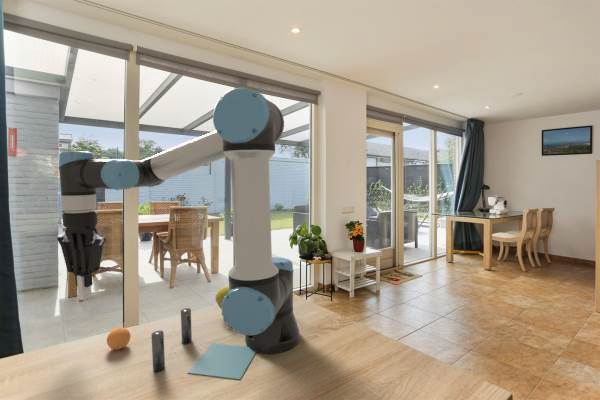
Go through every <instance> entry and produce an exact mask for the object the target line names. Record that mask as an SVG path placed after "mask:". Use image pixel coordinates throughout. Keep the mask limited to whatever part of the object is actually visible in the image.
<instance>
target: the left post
mask: <svg viewBox="0 0 600 400" xmlns="http://www.w3.org/2000/svg"><path fill="white" fill-rule="evenodd" d="M150 335H151V351H152V354H151V355H152V371H153V373H155V374H156V373H161V372H163V371H164V370H166V362H165V359H166V358H165V336H164V335H165V334H164V330H156V331H153V332H152V333H151V334H150Z"/></svg>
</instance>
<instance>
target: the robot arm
mask: <svg viewBox="0 0 600 400" xmlns="http://www.w3.org/2000/svg"><path fill="white" fill-rule="evenodd" d="M284 119H285V118H284V116H283V113H282V111H281V110H280V108H279V107H278V106H277V105H276V103H273V102H272V101H270V100H269V99H267V98H265V96H264V95H263V94H262V93H260V92H258V91H257V90H254V89H251V88H248V87H235V88H232V89H230V90H228V91H226V92H224V93H223V94H222V96H221V97H220V98H219V99H218V100H217V101H216V103H215V106H214V108H213V114H212V123H213V125H214V126H213V127H214V129H215V130H214V131H213V130H212V131H211V132H209V133H206V134H204V135H202V136H198V137H196V138H193V139H192V140H188V141H186V142H184V143H181V144H179V145H177V146H174V147H171V148H169V149H167V150H164V151H162V152H160V153H157V154H155V155H152V156H149V157H147V158H144V159H141V160H137V159H134V160H133V159H124V158H112V159H111V158H110V159H109V158H108V159H105V158H104V159H95V155H94V153H93V152H90V151H82V150H81V151H78V150H75V151H72V150H64V151H62V152H60V153H59V157H58V158H59V159H58V170H59V182H60V184H59V185H60V198H61V200H60V201H61V211H64V212H63V213H62V214H61V216H62V227H64V228H65V230H64V231H65V232H64V234H63V235H61V236H58V237H56V238H57V239H56V240H57V242H58V243H59V245H60V248H61V252H62V254H63V259H64V263H65V266H66V267H65V268H66V270H67V272H68V273H72V274H73V275H74V277H75V286H76V287H77V298H78V300H79V301H84V300H87V299H88V298H89V299H90V298H91V297H92V286H93V274H94V273H97V272H99V271H100V267H101V262H102V261H101V260H102V253H103V248H104V245H105V243H106V241H107V238H106V237H105V236H103V237H101V235H98V231H97V227H96V226H97V224H98V212H97V210H96V209H97V189H100V190H102V189H103V190H105V189H106V190H117V191H119V190H122V191H123V190H130V189H133V188H146V187H148V188H149V187H150V188H151V187H156V186H160V185H162V184H163V183H164V182H165V181H166V180H168V179H172V178H173V177H176V176H179V175H181V174H184V173H187V172H190V171H193V170H194V169H198V168H200V167H203V166H206V165H209V164H211V163H213V162H217V161H219V160H222V159H224V158H227V159H228V160H229V162H230V181H231V202H232V203H231V204H232V228H233V254H234V265H233V266H232V267H231V269H229V270H228V287H229V292H228V293H227V294H226V295H225V297H224V299H223V302H222V309H221V315H222V314H223V316H222V318H223V317H224V319H223V320H224V322H225V323H226V324H227V325H228V326H229V327H231V328H232V330H234V331H235V332H237V333H239V334H241V335H245V344H246V347H249V348H250V349H252V350H254V351H256V353H257V352H258V353H261V354H262V353H263V354H279V353H283V352H286V351H289V350H291V349H293V348H295V346H296V345H298V343H299V341H300V329H299V328H300V327H299V325H298V323H297V319H296V317H295V313H294V268H293V267H294V266H293V262H292V260H291V259H289V258H284V257H278V256H277V257H275V256H273V253H272V223H271V221H272V220H271V217H272V216H271V215H272V214H271V189H270V188H271V187H270V159H271V158H272V157H273V156H274V155H275V153H276V143H277V141H279V139H280V138H281V137H282V135H283V132H284V129H285V120H284Z"/></svg>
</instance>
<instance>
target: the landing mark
mask: <svg viewBox="0 0 600 400" xmlns="http://www.w3.org/2000/svg"><path fill="white" fill-rule="evenodd" d="M256 353H257V351H254V350H252V349H250V348H249V347H248V346H242V345H235V344H233V345H232V344H225V343H214V342H212V343H211V344H210V345H209V347H208V348H207V349H206V350H205V351H204V352H203V354H202V355H201V356H200V357H199V358H198V360H197V361H196V362H195V363H194V364H193V366H191V368H189V370H188V371H187V374H189V375H198V376H203V377H205V376H206V377H214V378H220V379H221V378H222V379H228V380H229V379H230V380H238V381H241V379H242V378H243V376H244V374H245V372H246V371H247V369H248V368H249V365H250V364H251V362H252V360H253V359H254V356H255V354H256Z"/></svg>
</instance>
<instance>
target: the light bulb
mask: <svg viewBox="0 0 600 400" xmlns="http://www.w3.org/2000/svg"><path fill="white" fill-rule="evenodd" d="M228 292H229V286H224V287H222V288H219V290H218V291H217V292H216V294H215V302H216V304H217V306H218V307H219V308H220V309H221V310H222V302H223V299H224V297H225V295H226V294H227V293H228ZM221 316H222V319H223V320H225V319H224V317H223V314H222V313H221Z"/></svg>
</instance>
